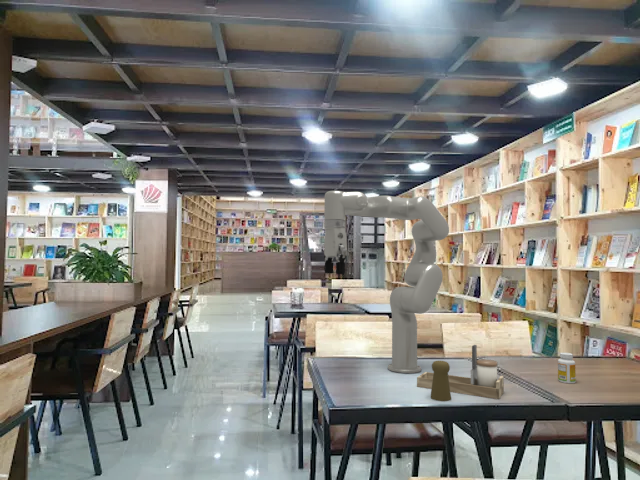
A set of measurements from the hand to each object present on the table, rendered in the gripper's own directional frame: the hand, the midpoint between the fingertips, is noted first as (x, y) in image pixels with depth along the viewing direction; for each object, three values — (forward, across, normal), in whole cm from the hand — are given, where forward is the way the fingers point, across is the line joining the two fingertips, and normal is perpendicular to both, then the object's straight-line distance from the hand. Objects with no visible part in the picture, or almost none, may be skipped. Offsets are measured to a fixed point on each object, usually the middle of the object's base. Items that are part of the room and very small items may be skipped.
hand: (334, 273), depth 158 cm
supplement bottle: (+37, -32, -75) cm, 90 cm away
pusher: (+37, -30, -36) cm, 60 cm away
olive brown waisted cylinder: (+37, -32, -21) cm, 53 cm away
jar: (+37, -33, -38) cm, 62 cm away
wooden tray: (+37, -26, -33) cm, 56 cm away
